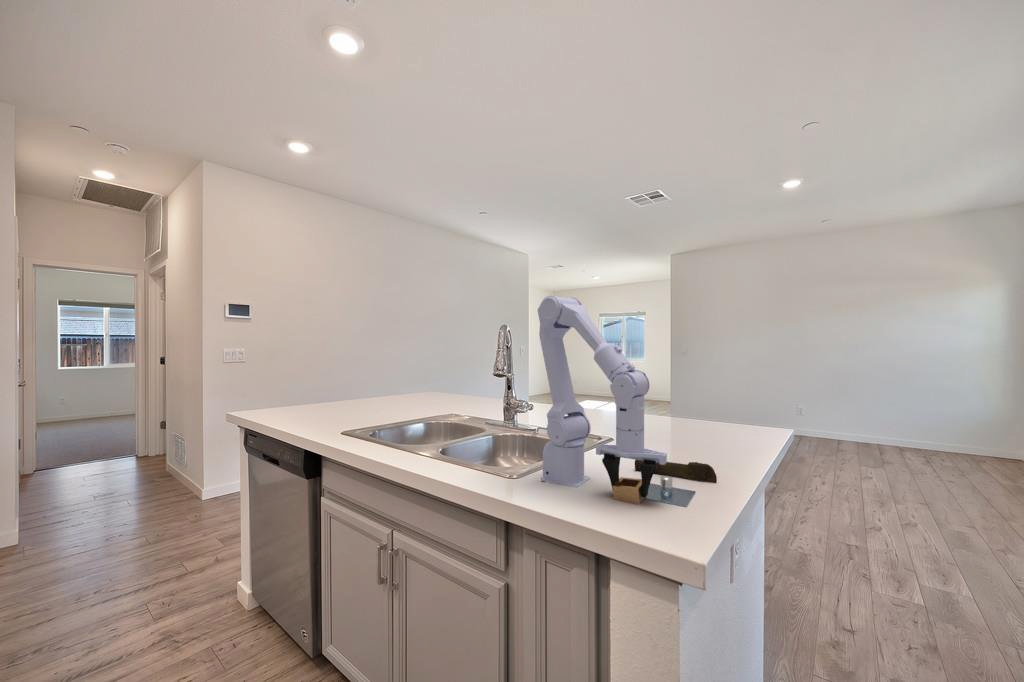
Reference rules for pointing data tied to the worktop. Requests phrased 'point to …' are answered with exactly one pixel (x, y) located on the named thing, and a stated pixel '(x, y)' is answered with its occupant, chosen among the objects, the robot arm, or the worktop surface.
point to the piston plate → (673, 499)
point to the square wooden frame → (628, 490)
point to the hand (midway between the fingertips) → (629, 493)
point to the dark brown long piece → (685, 471)
